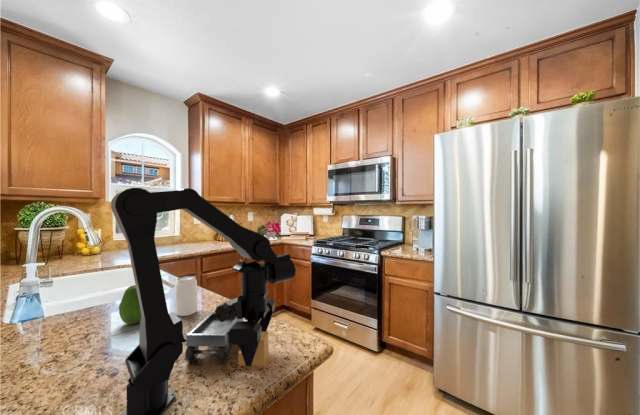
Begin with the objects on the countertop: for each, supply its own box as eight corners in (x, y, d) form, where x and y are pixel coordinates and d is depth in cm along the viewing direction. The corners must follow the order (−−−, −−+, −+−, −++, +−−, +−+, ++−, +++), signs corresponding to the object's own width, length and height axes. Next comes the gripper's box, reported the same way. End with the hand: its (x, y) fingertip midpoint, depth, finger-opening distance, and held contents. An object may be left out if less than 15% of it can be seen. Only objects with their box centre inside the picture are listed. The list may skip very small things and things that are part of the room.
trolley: (223, 365, 59) (223, 336, 59) (184, 365, 59) (184, 336, 59) (243, 334, 73) (243, 311, 73) (212, 334, 74) (212, 311, 74)
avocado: (114, 330, 76) (113, 289, 76) (126, 319, 84) (125, 282, 84) (145, 327, 78) (144, 287, 78) (154, 316, 86) (153, 280, 86)
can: (188, 317, 85) (188, 281, 85) (171, 316, 86) (171, 280, 86) (201, 309, 91) (201, 276, 91) (185, 308, 93) (185, 275, 93)
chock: (268, 356, 63) (268, 331, 63) (264, 366, 59) (264, 339, 59) (244, 355, 63) (243, 331, 63) (238, 366, 59) (238, 339, 59)
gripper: (234, 277, 71) (234, 334, 71) (201, 302, 52) (201, 379, 52) (275, 277, 70) (275, 334, 70) (256, 302, 52) (256, 380, 52)
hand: (254, 353), depth 61 cm, fingers open, 9 cm apart
